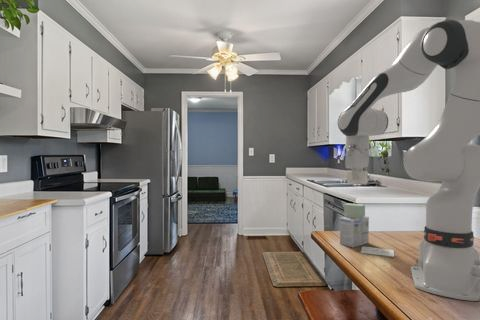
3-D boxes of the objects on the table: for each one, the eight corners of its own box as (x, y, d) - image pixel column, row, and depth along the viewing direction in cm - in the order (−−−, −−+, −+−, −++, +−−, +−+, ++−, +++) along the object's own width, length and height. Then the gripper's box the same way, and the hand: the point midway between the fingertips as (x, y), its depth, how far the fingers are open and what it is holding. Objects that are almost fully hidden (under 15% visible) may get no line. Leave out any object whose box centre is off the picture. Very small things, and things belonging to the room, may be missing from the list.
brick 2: (361, 218, 123) (361, 206, 122) (344, 216, 127) (344, 204, 127) (365, 217, 126) (365, 204, 126) (347, 215, 130) (347, 203, 130)
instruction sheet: (394, 257, 110) (394, 256, 110) (360, 252, 115) (360, 252, 115) (394, 250, 117) (394, 249, 117) (362, 246, 122) (362, 246, 122)
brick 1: (364, 184, 123) (364, 171, 123) (346, 183, 127) (346, 171, 127) (367, 183, 126) (367, 171, 126) (349, 182, 130) (349, 170, 130)
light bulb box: (354, 239, 132) (354, 214, 132) (369, 243, 127) (369, 216, 127) (339, 244, 126) (339, 217, 126) (353, 248, 121) (354, 220, 120)
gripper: (358, 144, 116) (358, 181, 116) (371, 145, 133) (371, 178, 133) (341, 144, 120) (341, 180, 120) (356, 145, 137) (356, 177, 137)
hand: (357, 179), depth 127 cm, fingers closed on brick 1, 4 cm apart
